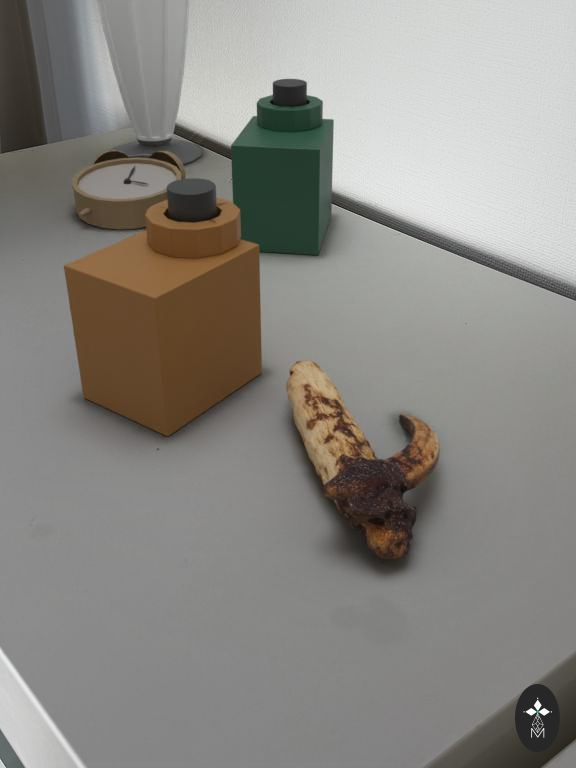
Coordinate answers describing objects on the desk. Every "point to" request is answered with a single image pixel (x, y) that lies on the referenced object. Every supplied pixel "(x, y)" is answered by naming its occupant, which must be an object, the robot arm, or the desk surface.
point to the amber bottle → (168, 318)
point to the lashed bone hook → (360, 462)
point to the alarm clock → (124, 187)
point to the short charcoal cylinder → (289, 92)
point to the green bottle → (284, 177)
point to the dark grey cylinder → (192, 200)
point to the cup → (149, 69)
